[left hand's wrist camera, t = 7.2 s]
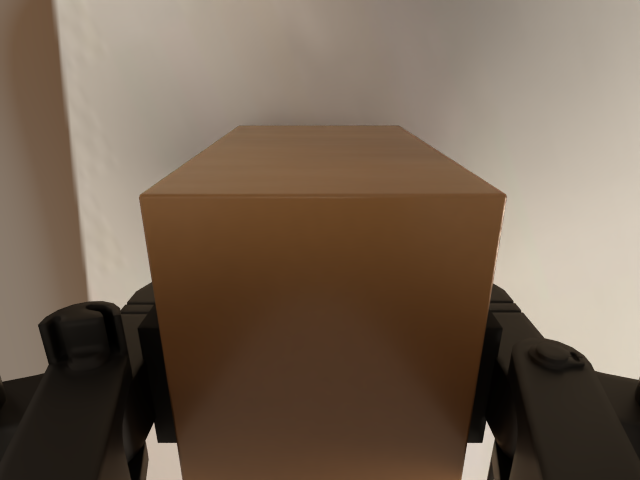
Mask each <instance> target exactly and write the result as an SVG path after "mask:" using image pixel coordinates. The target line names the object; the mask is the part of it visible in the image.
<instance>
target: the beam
mask: <svg viewBox="0 0 640 480" xmlns="http://www.w3.org/2000/svg"><path fill="white" fill-rule="evenodd" d="M506 199H507V196H506V194H505V193H503V192H502V191H500V190H498V189H497V188H495V187H494V186H492V185H491V184H489V183H488V182H486V181H484V180H483V179H481V178H480V177H478V176H477V175H475V174H473V173H472V172H470V171H469V170H467V169H466V168H464V167H463V166H461V165H459V164H458V163H456V162H455V161H453V160H452V159H450V158H448V157H447V156H445V155H444V154H442V153H441V152H439V151H438V150H436V149H434V148H433V147H431V146H430V145H428V144H427V143H425V142H423V141H422V140H420V139H419V138H417V137H416V136H414V135H413V134H411V133H409V132H408V131H406V130H405V129H403V128H402V127H400V126H238V127H237V128H235V129H234V130H232V131H231V132H229V133H228V134H226V135H225V136H224V137H222V138H221V139H219V140H218V141H216V142H215V143H214V144H212V145H211V146H209V147H208V148H206V149H205V150H204V151H202V152H201V153H199V154H198V155H196V156H195V157H194V158H192V159H191V160H189V161H188V162H186V163H185V164H183V165H182V166H181V167H179V168H178V169H176V170H175V171H173V172H172V173H171V174H169V175H168V176H166V177H165V178H163V179H162V180H161V181H159V182H158V183H156V184H155V185H153V186H152V187H151V188H149V189H148V190H146V191H145V192H143V193H142V194H140V196H139V200H140V206H141V213H142V219H143V226H144V232H145V239H146V245H147V252H148V258H149V265H150V271H151V278H152V284H153V291H154V297H155V304H156V310H157V317H158V323H159V330H160V336H161V343H162V349H163V356H164V362H165V369H166V375H167V382H168V388H169V395H170V401H171V408H172V414H173V421H174V427H175V434H176V440H177V446H178V453H179V459H180V466H181V472H182V479H183V480H461V478H462V472H463V466H464V460H465V453H466V447H467V441H468V435H469V429H470V422H471V416H472V410H473V404H474V398H475V391H476V385H477V379H478V373H479V366H480V360H481V354H482V348H483V342H484V335H485V329H486V323H487V317H488V311H489V304H490V298H491V292H492V286H493V280H494V273H495V267H496V261H497V255H498V249H499V242H500V236H501V230H502V224H503V218H504V211H505V205H506Z"/></svg>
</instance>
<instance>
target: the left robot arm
mask: <svg viewBox="0 0 640 480" xmlns="http://www.w3.org/2000/svg"><path fill="white" fill-rule="evenodd" d="M38 327H39V330H40V334H41V338H42V341H43V345H44V349H45V352H46V356H47V359H48V363H49V365H48V367H47V370H46V371H45V373H44V374H39V375H35V376H30V377H25V378H20V379H15V380H9V381H4V382H2V380H1V377H0V480H146V476H147V468H148V452H147V446H146V441H145V440H146V438H147V436H148V434H149V432H150V430H151V427H152V425H153V423H154V424H155V429H156V435H157V440H158V443H177V440H176V434H175V427H174V421H173V414H172V408H171V401H170V395H169V388H168V382H167V375H166V369H165V362H164V356H163V349H162V343H161V336H160V330H159V323H158V317H157V310H156V304H155V297H154V291H153V284H152V282H151V283H150V284H148V285H146V286H145V287H143V288H141V289H140V290H138V291H136V292H135V294H134V295H133V296H132V297H131V298H130V300H129V301H128V302H127V305H125V306H124V307H123V308H122V309H121V311H120V308H119V307H118V306H116V305H115V304H114V303H109V302H104V301H92V302H84V303H79V304H74V305H71V306H68V307H65V308H63V309H60V310H57V311H56V312H54V313H52V314H50V315H49V316H47V317H45V318H44V319H43V320H42V321H41V322H40V324H39V325H38ZM486 420H487V423H488V425H489V427H490V429H491V431H492V433H493V435H494V437H495V441H494V446H493V451H492V456H491V462H490V467H489V472H488V477H487V480H640V378H639V380H636V379H631V378H626V377H620V376H615V375H610V374H605V373H601V372H597V371H594V369H593V367H592V365H591V363H590V362H589V361H588V360H587V358H586V357H585V356H584V355H583V354H581V353H580V352H578V351H577V350H575V349H574V348H572V347H570V346H568V345H565V344H563V343H561V342H558V341H554V340H549V339H545V338H544V337H543V336H542V335H541V334H540V332H539V331H538V330H537V329H536V328H535V326H534V325H533V324H532V323H531V322H530V320H529V319H528V318H527V317H526V316H525V314H524V313H521V310H520V308H519V307H518V306H517V305H516V304H515V303H513V300H512V299H511V298H510V296H509V295H508V294H507V293H506V292H505V290H503V289H502V288H500V287H498V286H497V285H495V284H493V286H492V292H491V298H490V304H489V311H488V317H487V323H486V329H485V335H484V342H483V348H482V354H481V360H480V366H479V373H478V379H477V385H476V391H475V398H474V404H473V410H472V416H471V422H470V429H469V435H468V441H467V443H482V442H483V436H484V431H485V425H486Z"/></svg>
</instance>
